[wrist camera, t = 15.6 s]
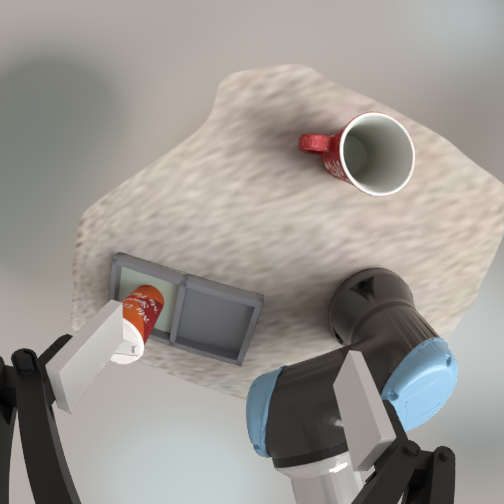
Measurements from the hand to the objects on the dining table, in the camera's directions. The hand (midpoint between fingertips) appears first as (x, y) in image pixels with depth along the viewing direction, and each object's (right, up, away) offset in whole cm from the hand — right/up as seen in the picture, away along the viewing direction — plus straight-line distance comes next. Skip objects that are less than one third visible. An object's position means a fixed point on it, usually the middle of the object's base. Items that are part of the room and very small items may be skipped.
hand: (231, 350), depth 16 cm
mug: (+13, +20, +25) cm, 34 cm away
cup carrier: (-11, -4, +33) cm, 35 cm away
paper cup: (-16, -3, +32) cm, 36 cm away
